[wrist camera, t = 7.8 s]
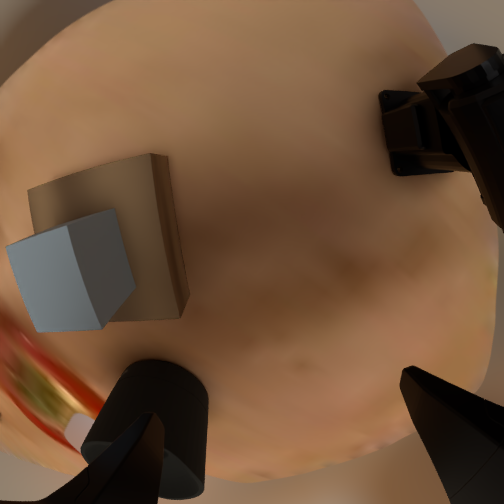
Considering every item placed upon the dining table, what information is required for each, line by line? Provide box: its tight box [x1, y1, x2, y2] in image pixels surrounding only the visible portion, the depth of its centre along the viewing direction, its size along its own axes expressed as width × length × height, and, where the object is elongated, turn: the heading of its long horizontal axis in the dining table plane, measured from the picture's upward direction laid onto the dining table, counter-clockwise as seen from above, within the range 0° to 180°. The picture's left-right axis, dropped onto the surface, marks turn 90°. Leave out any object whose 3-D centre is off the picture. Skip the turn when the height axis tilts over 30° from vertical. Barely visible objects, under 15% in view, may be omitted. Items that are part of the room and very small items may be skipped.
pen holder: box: [81, 360, 208, 500], centre depth 18 cm, size 9×9×10 cm
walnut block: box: [27, 153, 190, 322], centre depth 17 cm, size 10×10×4 cm
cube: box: [6, 208, 136, 332], centre depth 13 cm, size 5×5×5 cm
